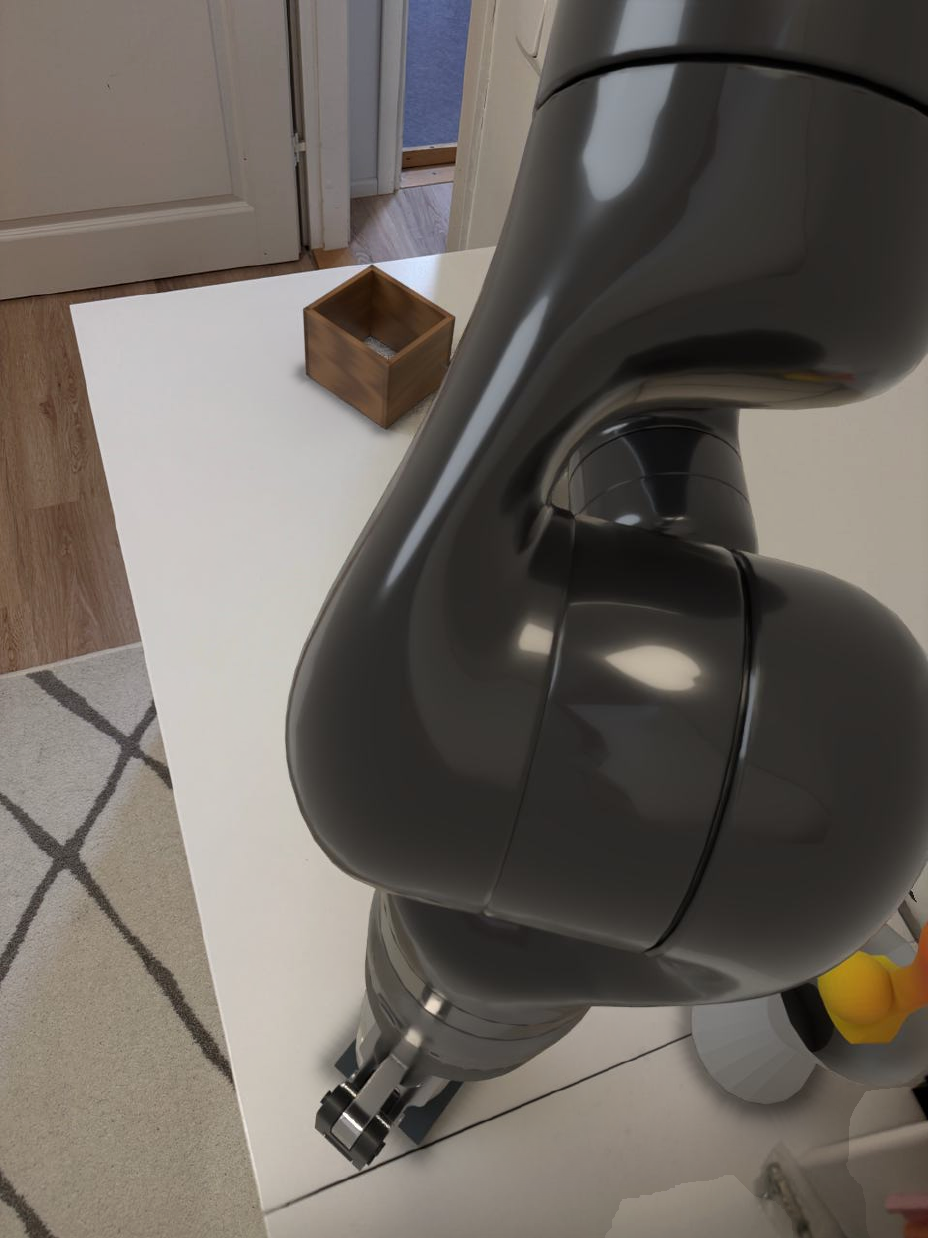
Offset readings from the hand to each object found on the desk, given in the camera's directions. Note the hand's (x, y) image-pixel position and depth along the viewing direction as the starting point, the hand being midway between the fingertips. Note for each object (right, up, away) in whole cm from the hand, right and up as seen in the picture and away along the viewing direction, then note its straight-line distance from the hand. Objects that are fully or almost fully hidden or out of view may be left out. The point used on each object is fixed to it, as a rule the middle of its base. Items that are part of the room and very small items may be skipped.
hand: (439, 1018), depth 43 cm
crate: (-8, +44, +47) cm, 65 cm away
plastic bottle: (-3, -9, +15) cm, 17 cm away
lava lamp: (+21, -9, +18) cm, 29 cm away
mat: (-2, -9, +15) cm, 17 cm away
